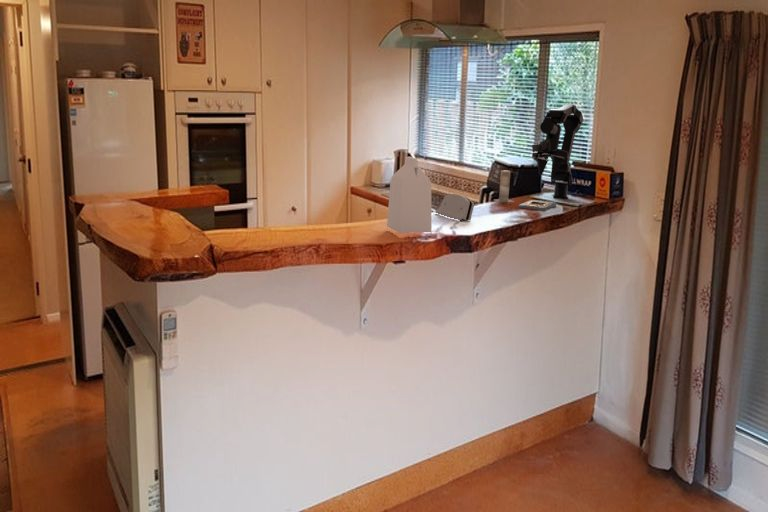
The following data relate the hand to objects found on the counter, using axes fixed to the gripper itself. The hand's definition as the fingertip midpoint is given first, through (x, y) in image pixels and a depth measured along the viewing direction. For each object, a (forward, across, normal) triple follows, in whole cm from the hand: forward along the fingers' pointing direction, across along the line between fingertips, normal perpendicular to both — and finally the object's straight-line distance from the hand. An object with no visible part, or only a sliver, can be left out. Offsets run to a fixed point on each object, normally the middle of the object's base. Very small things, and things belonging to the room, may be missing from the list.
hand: (546, 174), depth 293 cm
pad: (+14, -12, -11) cm, 22 cm away
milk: (+36, +35, -73) cm, 89 cm away
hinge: (+26, +14, -46) cm, 55 cm away
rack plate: (+15, +3, -4) cm, 15 cm away
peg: (+13, -12, -11) cm, 21 cm away
